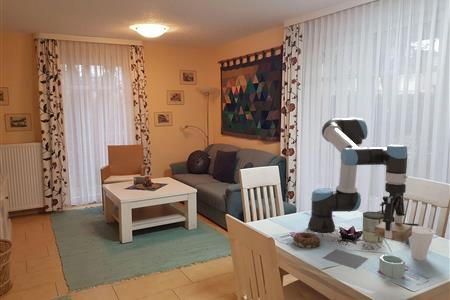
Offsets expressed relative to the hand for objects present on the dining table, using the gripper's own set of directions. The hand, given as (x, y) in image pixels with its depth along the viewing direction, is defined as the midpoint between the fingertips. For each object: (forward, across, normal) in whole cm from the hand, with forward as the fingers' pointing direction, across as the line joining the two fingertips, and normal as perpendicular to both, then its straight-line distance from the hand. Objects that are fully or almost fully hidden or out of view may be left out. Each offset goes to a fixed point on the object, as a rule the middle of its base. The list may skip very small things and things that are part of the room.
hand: (393, 234), depth 142 cm
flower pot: (+17, +41, +4) cm, 45 cm away
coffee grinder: (+17, +52, +23) cm, 60 cm away
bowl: (+17, 0, 0) cm, 17 cm away
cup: (+17, +24, -4) cm, 30 cm away
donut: (+17, +3, +42) cm, 46 cm away
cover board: (+1, 0, 0) cm, 1 cm away
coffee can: (+17, +31, +20) cm, 41 cm away
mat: (+17, -1, +20) cm, 26 cm away
